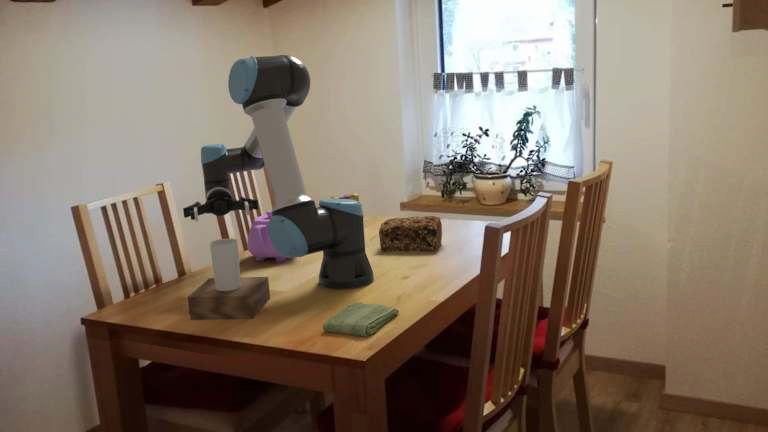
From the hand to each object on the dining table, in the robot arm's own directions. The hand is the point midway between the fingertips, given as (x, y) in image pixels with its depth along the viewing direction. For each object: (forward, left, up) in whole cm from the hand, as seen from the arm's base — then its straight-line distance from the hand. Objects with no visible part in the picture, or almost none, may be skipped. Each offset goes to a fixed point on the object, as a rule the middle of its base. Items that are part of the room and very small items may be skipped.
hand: (222, 213), depth 214 cm
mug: (-5, +13, -16) cm, 22 cm away
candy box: (-22, -57, -22) cm, 65 cm away
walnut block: (-4, +13, -22) cm, 26 cm away
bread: (-45, -44, -23) cm, 67 cm away
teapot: (-4, -35, -23) cm, 42 cm away
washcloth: (-40, +25, -23) cm, 52 cm away
